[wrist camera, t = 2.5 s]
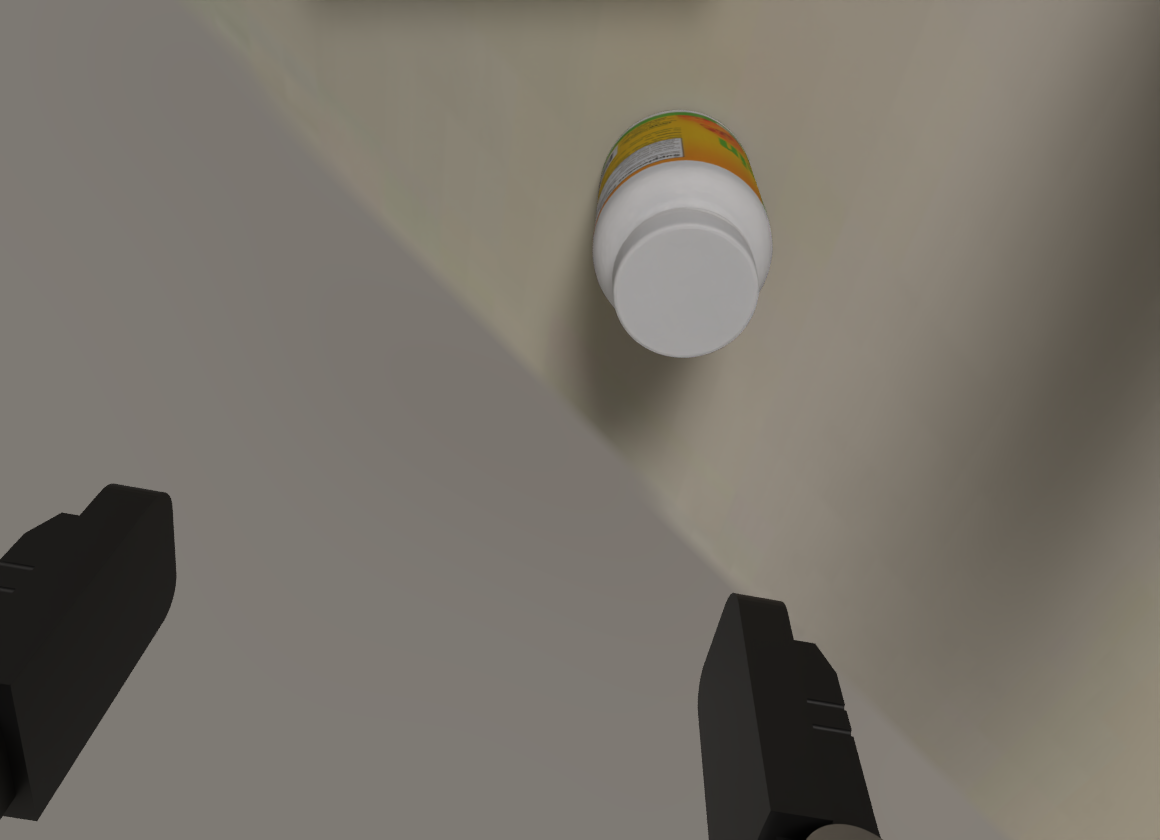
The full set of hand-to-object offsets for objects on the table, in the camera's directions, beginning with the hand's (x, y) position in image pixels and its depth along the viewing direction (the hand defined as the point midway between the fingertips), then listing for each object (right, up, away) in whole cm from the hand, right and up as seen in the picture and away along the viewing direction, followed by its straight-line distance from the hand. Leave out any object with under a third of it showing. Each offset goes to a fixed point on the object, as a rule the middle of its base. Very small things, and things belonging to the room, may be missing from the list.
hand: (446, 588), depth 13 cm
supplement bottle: (+5, +11, +20) cm, 23 cm away
